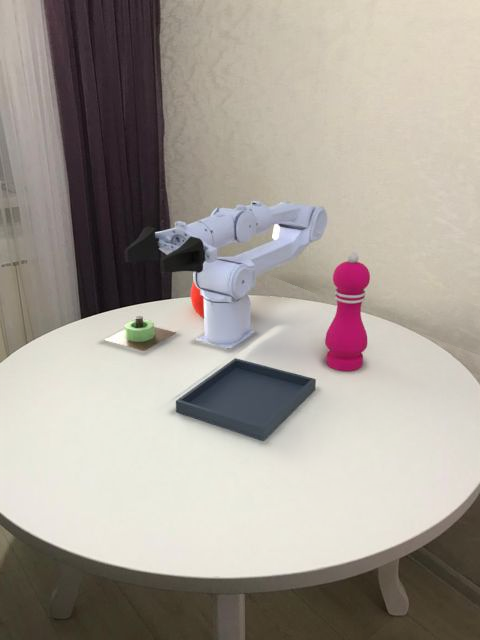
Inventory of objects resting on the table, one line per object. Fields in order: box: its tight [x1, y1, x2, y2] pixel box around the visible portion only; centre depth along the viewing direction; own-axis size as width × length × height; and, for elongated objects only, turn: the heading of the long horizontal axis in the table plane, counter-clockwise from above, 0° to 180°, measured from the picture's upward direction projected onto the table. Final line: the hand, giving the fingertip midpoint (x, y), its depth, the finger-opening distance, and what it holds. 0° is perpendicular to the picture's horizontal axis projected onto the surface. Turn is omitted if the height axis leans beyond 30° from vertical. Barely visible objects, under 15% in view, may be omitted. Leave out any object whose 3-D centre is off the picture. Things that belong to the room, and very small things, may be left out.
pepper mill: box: [324, 252, 371, 372], centre depth 100 cm, size 7×7×20 cm
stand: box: [103, 315, 177, 352], centre depth 113 cm, size 10×10×4 cm
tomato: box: [190, 281, 204, 318], centre depth 123 cm, size 11×11×9 cm
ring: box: [124, 319, 155, 342], centre depth 114 cm, size 5×5×2 cm
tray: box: [175, 357, 317, 442], centre depth 92 cm, size 17×15×2 cm
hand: (144, 261), depth 91 cm, fingers open, 7 cm apart
